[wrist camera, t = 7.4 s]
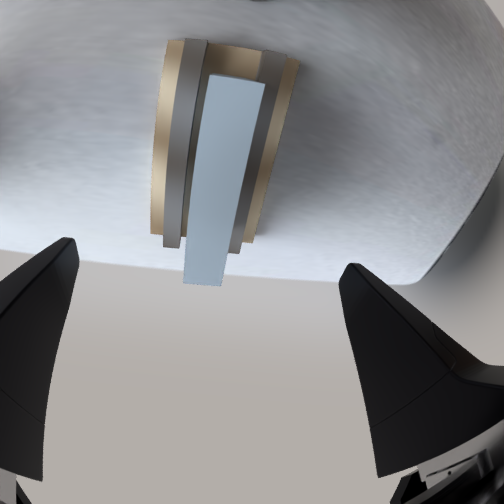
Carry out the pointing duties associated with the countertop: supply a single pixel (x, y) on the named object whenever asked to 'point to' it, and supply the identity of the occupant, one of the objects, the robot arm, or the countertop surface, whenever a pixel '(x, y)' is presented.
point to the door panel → (219, 174)
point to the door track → (188, 126)
